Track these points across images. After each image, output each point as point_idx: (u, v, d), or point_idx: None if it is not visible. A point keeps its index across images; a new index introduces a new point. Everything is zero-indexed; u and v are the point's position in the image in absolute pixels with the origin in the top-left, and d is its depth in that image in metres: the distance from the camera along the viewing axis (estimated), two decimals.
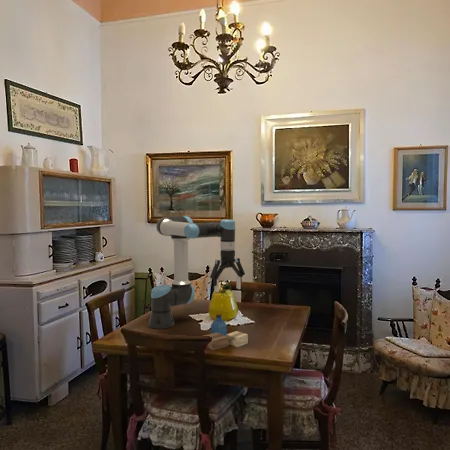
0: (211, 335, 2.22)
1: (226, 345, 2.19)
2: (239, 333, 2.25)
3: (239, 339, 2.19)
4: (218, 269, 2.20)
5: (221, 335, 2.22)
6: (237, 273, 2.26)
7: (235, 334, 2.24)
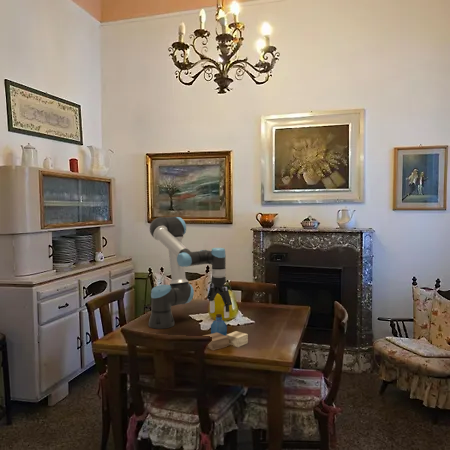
0: (211, 335, 2.22)
1: (226, 345, 2.19)
2: (239, 333, 2.26)
3: (239, 339, 2.19)
4: None
5: (221, 335, 2.23)
6: None
7: (235, 334, 2.24)
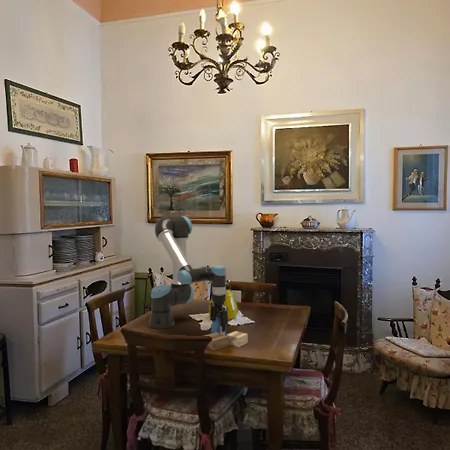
0: (211, 335, 2.22)
1: (226, 345, 2.19)
2: (239, 333, 2.26)
3: (240, 339, 2.19)
4: None
5: (221, 335, 2.23)
6: None
7: (235, 334, 2.24)
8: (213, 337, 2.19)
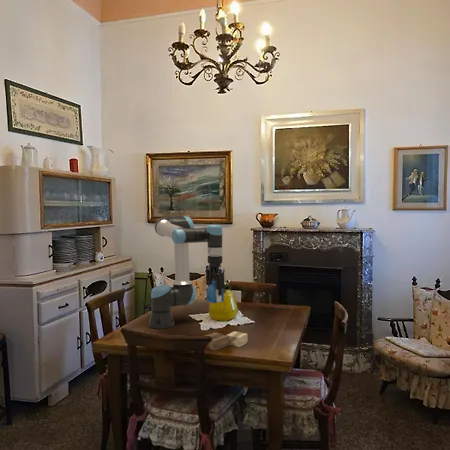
0: (211, 335, 2.22)
1: (226, 344, 2.20)
2: (238, 333, 2.26)
3: (240, 339, 2.20)
4: None
5: (221, 335, 2.23)
6: None
7: (235, 334, 2.24)
8: (213, 337, 2.19)
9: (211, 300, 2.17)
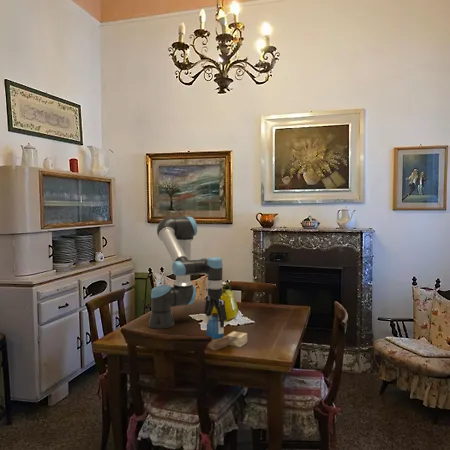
0: None
1: (226, 345, 2.20)
2: (238, 333, 2.26)
3: (241, 339, 2.20)
4: None
5: None
6: None
7: (235, 334, 2.24)
8: None
9: (211, 336, 2.18)
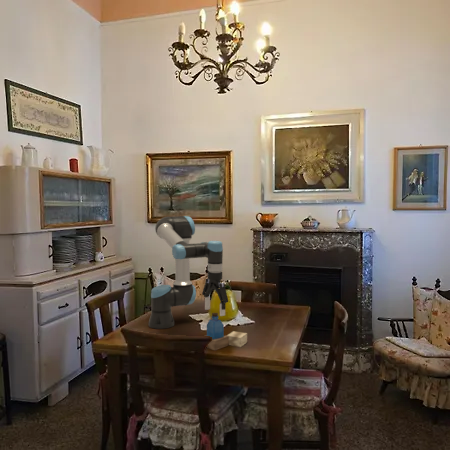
0: None
1: (226, 344, 2.20)
2: (238, 333, 2.26)
3: (241, 339, 2.20)
4: None
5: None
6: None
7: (235, 334, 2.24)
8: None
9: (211, 336, 2.18)
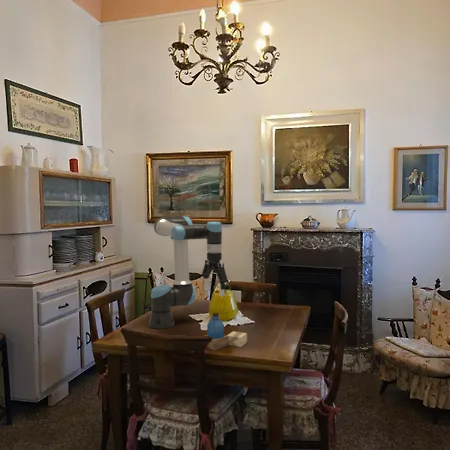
0: None
1: (226, 344, 2.20)
2: (238, 333, 2.26)
3: (241, 339, 2.20)
4: None
5: None
6: None
7: (235, 334, 2.24)
8: None
9: (211, 336, 2.18)
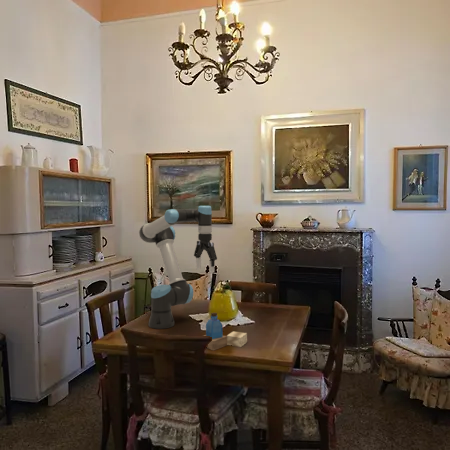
0: None
1: (225, 344, 2.20)
2: (238, 333, 2.26)
3: (242, 339, 2.20)
4: (201, 249, 2.47)
5: None
6: None
7: (235, 334, 2.24)
8: None
9: (210, 336, 2.18)
